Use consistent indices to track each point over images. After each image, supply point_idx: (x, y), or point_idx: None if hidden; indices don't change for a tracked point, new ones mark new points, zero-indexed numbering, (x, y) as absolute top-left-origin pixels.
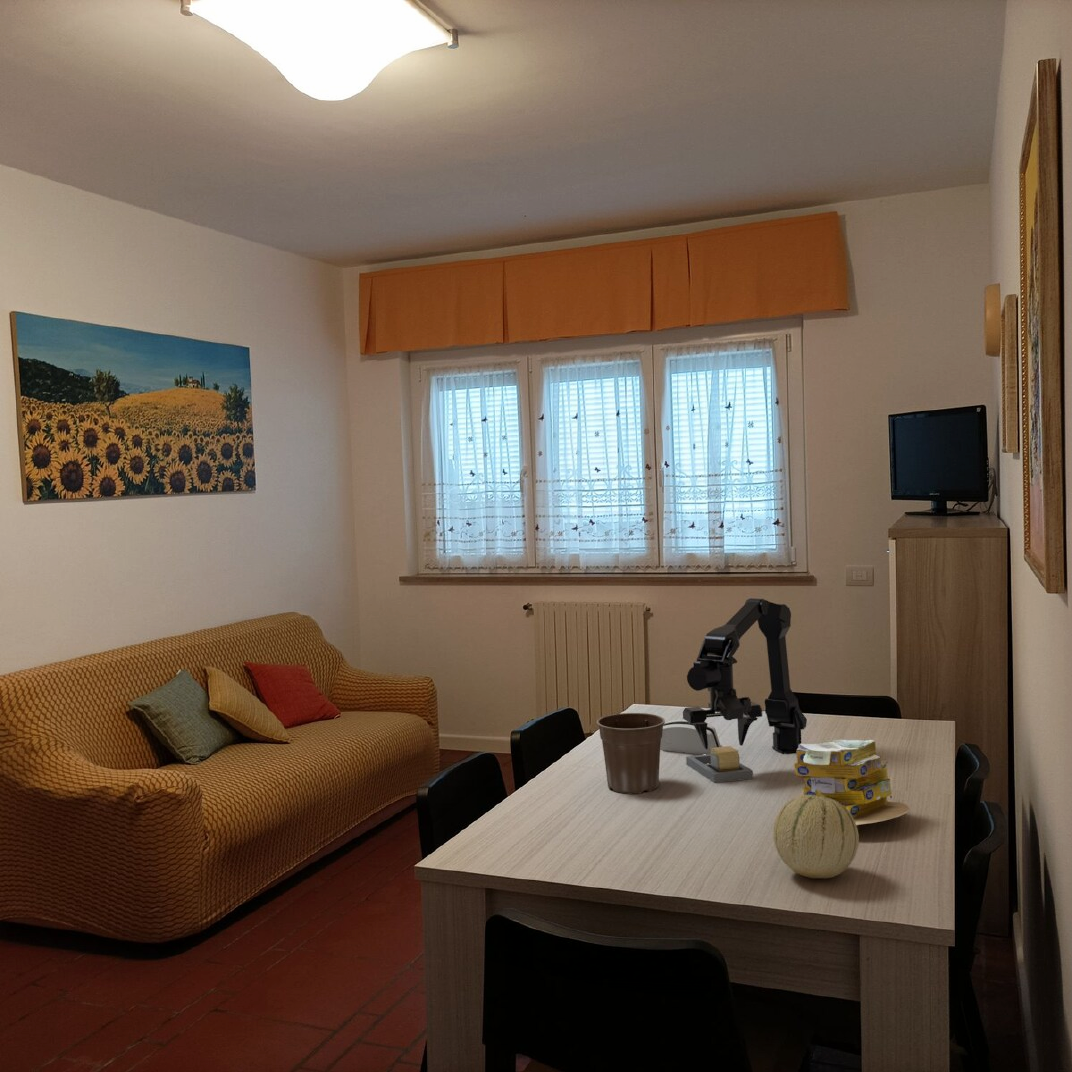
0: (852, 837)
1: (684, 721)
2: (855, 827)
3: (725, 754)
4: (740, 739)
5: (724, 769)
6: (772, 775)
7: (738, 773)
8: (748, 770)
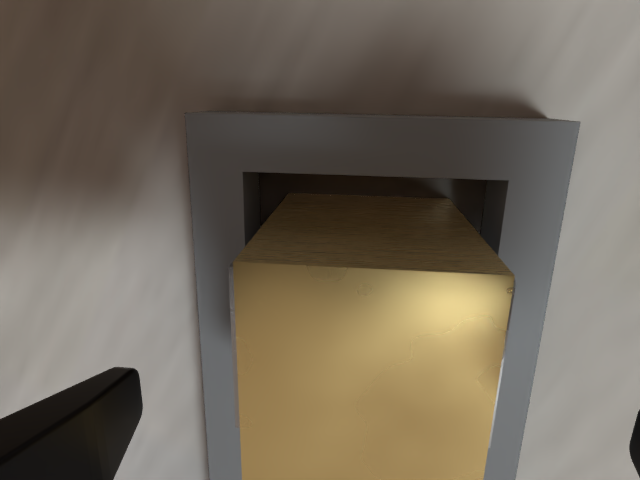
0: None
1: None
2: None
3: (417, 258)
4: (96, 438)
5: (416, 214)
6: (43, 131)
7: (325, 115)
8: (221, 121)
